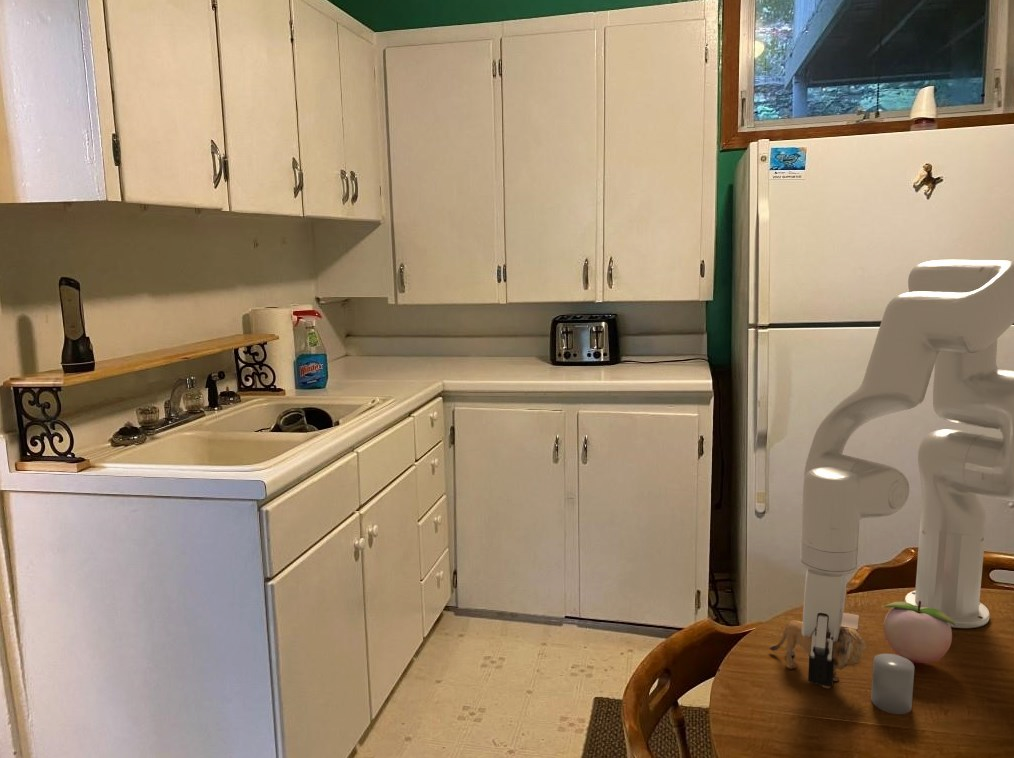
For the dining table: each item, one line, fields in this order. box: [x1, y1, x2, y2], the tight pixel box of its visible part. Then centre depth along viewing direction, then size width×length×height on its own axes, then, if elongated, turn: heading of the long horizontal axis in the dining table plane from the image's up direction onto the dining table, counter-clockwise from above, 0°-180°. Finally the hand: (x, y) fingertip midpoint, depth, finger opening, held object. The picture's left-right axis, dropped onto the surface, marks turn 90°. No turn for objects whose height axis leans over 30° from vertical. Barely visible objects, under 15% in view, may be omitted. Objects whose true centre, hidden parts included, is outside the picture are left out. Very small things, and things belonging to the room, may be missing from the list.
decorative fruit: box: [882, 601, 955, 664], centre depth 115 cm, size 9×8×10 cm
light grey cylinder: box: [870, 653, 915, 715], centre depth 106 cm, size 5×5×6 cm
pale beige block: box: [840, 612, 860, 634], centre depth 123 cm, size 5×4×4 cm
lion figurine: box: [769, 619, 867, 689], centre depth 114 cm, size 15×5×9 cm, turn 37°
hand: (822, 670), depth 113 cm, fingers closed on lion figurine, 6 cm apart
